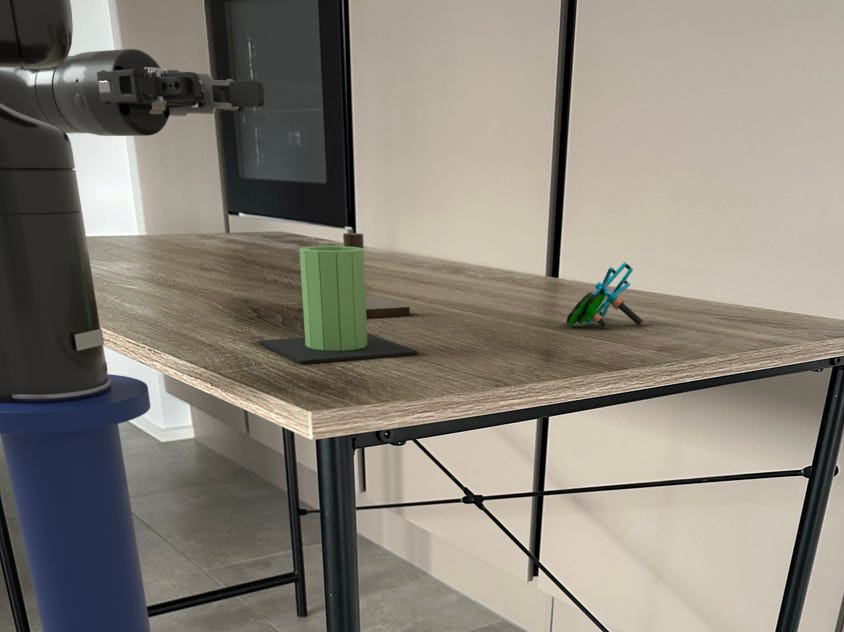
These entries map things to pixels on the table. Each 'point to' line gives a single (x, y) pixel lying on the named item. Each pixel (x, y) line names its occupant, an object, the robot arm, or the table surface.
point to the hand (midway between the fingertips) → (230, 89)
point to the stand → (374, 304)
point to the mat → (304, 355)
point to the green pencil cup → (334, 297)
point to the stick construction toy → (594, 300)
